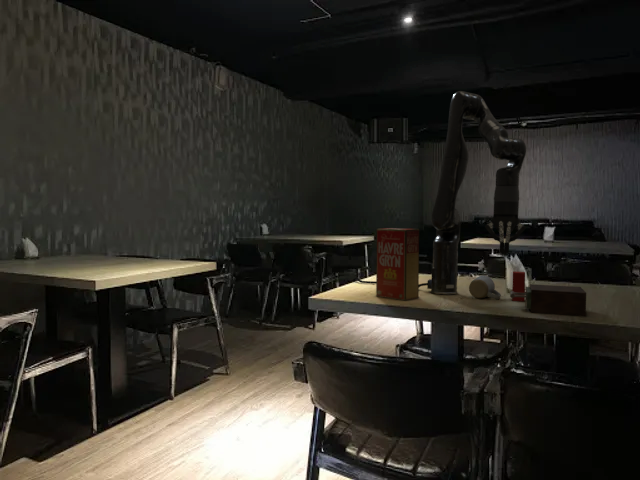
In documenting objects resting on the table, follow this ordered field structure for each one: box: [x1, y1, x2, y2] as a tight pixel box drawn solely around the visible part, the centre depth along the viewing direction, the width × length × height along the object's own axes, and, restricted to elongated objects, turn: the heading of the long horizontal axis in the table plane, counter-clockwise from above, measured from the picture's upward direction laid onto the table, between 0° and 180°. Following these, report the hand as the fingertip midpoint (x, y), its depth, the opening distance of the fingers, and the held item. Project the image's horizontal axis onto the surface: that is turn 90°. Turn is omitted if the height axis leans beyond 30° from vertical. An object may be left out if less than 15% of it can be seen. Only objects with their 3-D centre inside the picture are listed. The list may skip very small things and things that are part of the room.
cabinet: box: [529, 283, 587, 317], centre depth 156 cm, size 15×13×7 cm
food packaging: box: [375, 227, 420, 302], centre depth 178 cm, size 13×9×25 cm
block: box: [511, 270, 526, 303], centre depth 173 cm, size 4×4×10 cm
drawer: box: [509, 286, 531, 310], centre depth 157 cm, size 19×11×5 cm, turn 69°
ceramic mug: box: [468, 274, 502, 300], centre depth 178 cm, size 11×8×8 cm
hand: (504, 254), depth 159 cm, fingers closed
